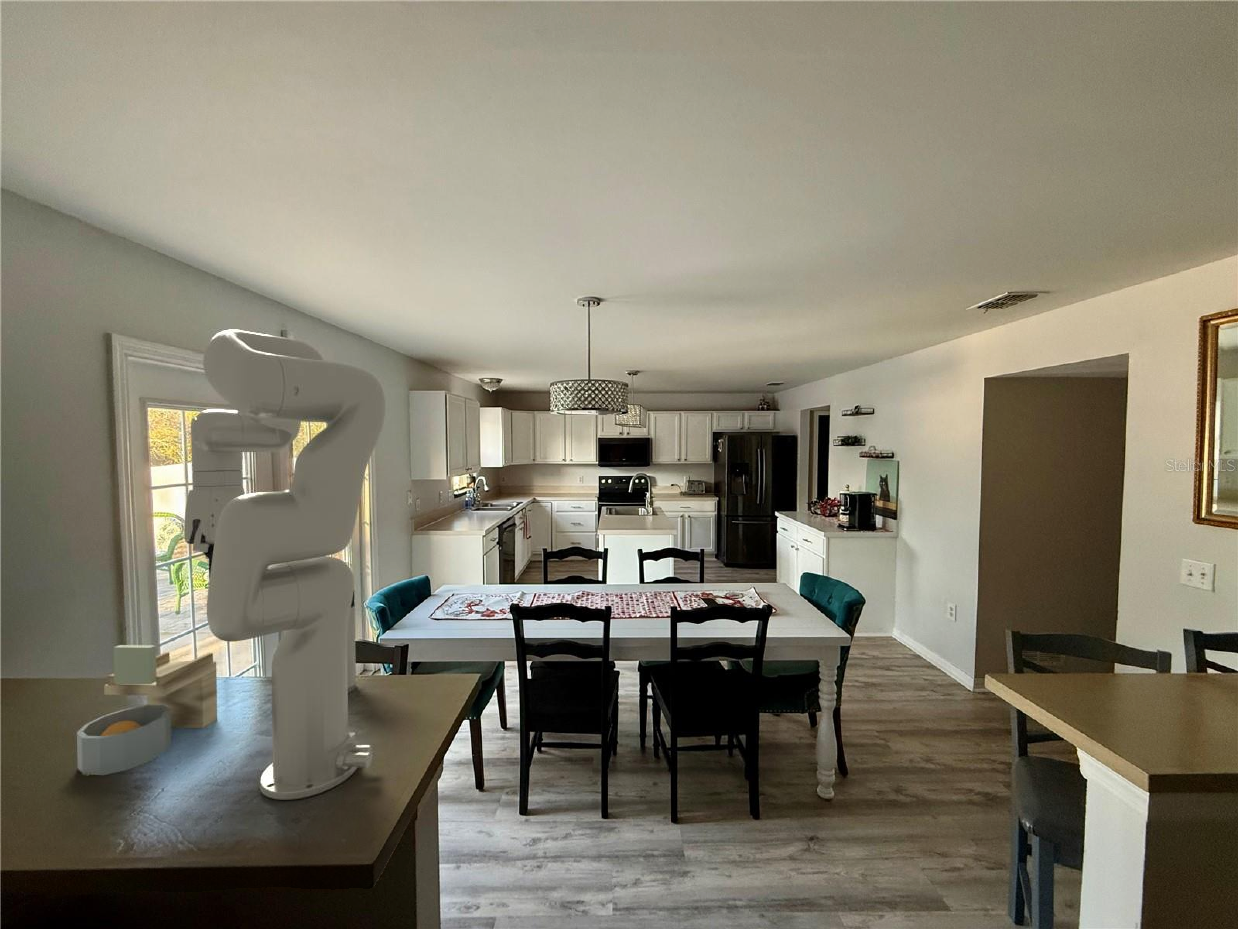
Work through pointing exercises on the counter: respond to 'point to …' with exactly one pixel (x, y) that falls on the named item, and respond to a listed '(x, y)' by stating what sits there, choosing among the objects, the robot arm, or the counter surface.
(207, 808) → the counter surface
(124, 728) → the ball
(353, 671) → the travel mug
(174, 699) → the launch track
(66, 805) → the counter surface
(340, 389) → the robot arm
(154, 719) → the gray oval basket
